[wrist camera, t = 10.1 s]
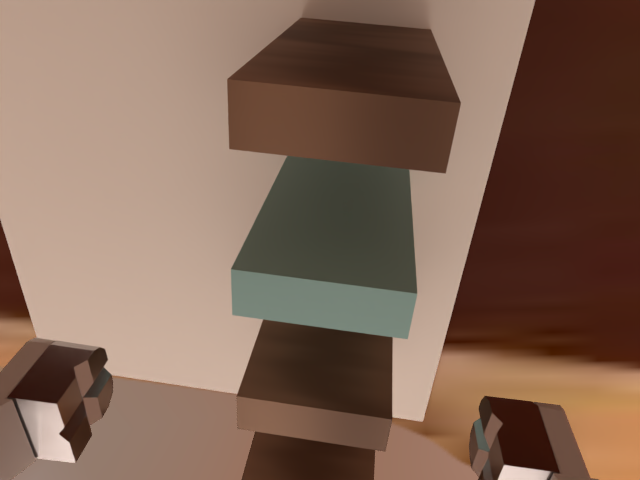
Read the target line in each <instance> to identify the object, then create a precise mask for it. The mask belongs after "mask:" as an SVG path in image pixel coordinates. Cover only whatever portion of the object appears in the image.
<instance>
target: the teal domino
mask: <svg viewBox="0 0 640 480" xmlns="http://www.w3.org/2000/svg"><path fill="white" fill-rule="evenodd" d="M231 291H232V315H235V316H242V317H249V318H257V319H264V320H271V321H278V322H286V323H293V324H300V325H307V326H315V327H322V328H329V329H336V330H344V331H351V332H358V333H365V334H373V335H380V336H387V337H394V338H402V339H408V336H409V331H410V326H411V322H412V317H413V312H414V308H415V303H416V298H417V279H416V264H415V248H414V233H413V218H412V203H411V187H410V172H409V169H400V168H392V167H383V166H374V165H365V164H356V163H347V162H338V161H330V160H321V159H312V158H303V157H294V156H287V157H286V159H285V161H284V163H283V165H282V167H281V169H280V171H279V173H278V175H277V177H276V179H275V181H274V183H273V185H272V187H271V189H270V191H269V193H268V195H267V197H266V199H265V201H264V203H263V205H262V207H261V209H260V211H259V213H258V215H257V217H256V220H255V222H254V224H253V226H252V228H251V230H250V232H249V234H248V236H247V238H246V240H245V242H244V244H243V246H242V248H241V250H240V252H239V254H238V256H237V258H236V260H235V262H234V264H233V266H232V268H231Z"/></svg>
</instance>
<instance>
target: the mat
mask: <svg viewBox="0 0 640 480" xmlns="http://www.w3.org/2000/svg"><path fill="white" fill-rule="evenodd" d="M534 3H535V0H0V219H1V223H2V226H3V229H4V232H5V236H6V239H7V242H8V245H9V249H10V252H11V255H12V258H13V262H14V265H15V268H16V271H17V275H18V278H19V281H20V284H21V287H22V291H23V294H24V297H25V300H26V304H27V307H28V310H29V313H30V317H31V320H32V323H33V326H34V330H35V333H36V336H37V338H42V339H49V340H55V341H64V342H70V343H77V344H83V345H89V346H96V347H101V348H104V349H105V351H106V354H107V358H108V361H107V362H106V364H105V366H104V368H105V369H106V370H107V371H108V372H109V373H110V374H111V375H115V376H122V377H128V378H135V379H142V380H148V381H155V382H162V383H168V384H175V385H182V386H188V387H195V388H202V389H208V390H215V391H222V392H228V393H235V394H238V391H239V388H240V385H241V382H242V379H243V376H244V373H245V370H246V368H247V365H248V362H249V359H250V356H251V353H252V350H253V347H254V344H255V341H256V339H257V336H258V333H259V330H260V327H261V324H262V321H263V319H257V318H249V317H242V316H235V315H232V291H231V268H232V266H233V264H234V262H235V260H236V258H237V256H238V254H239V252H240V250H241V248H242V246H243V244H244V242H245V240H246V238H247V236H248V234H249V232H250V230H251V228H252V226H253V224H254V222H255V220H256V217H257V215H258V213H259V211H260V209H261V207H262V205H263V203H264V201H265V199H266V197H267V195H268V193H269V191H270V189H271V187H272V185H273V183H274V181H275V179H276V177H277V175H278V173H279V171H280V169H281V167H282V165H283V163H284V161H285V159H286V157H287V156H285V155H276V154H268V153H259V152H250V151H241V150H232V149H229V126H228V92H227V79H228V78H229V77H230V76H231V75H233V74H234V73H235V72H236V71H237V70H239V69H240V68H241V67H242V66H243V65H245V64H246V63H247V62H248V61H249V60H251V59H252V58H253V57H254V56H255V55H257V54H258V53H259V52H260V51H261V50H263V49H264V48H265V47H266V46H267V45H269V44H270V43H271V42H272V41H273V40H275V39H276V38H277V37H278V36H279V35H281V34H282V33H283V32H284V31H285V30H287V29H288V28H289V27H290V26H291V25H293V24H294V23H295V22H296V21H297V20H299V19H300V18H312V19H322V20H333V21H344V22H355V23H366V24H377V25H388V26H398V27H409V28H420V29H431V31H432V33H433V36H434V38H435V40H436V43H437V45H438V48H439V50H440V53H441V55H442V58H443V60H444V63H445V65H446V67H447V70H448V72H449V75H450V77H451V80H452V82H453V85H454V87H455V89H456V92H457V94H458V97H459V99H460V102H461V106H460V110H459V115H458V120H457V124H456V129H455V133H454V138H453V143H452V147H451V152H450V156H449V161H448V166H447V170H446V174H445V173H436V172H427V171H418V170H409V172H410V187H411V203H412V218H413V233H414V248H415V264H416V279H417V298H416V303H415V308H414V312H413V317H412V322H411V326H410V331H409V336H408V339H402V338H394V337H393V362H392V417H395V418H402V419H409V420H415V421H422V422H423V419H424V415H425V411H426V408H427V404H428V400H429V396H430V393H431V389H432V385H433V381H434V378H435V374H436V370H437V366H438V363H439V359H440V355H441V351H442V348H443V344H444V340H445V336H446V333H447V329H448V325H449V321H450V318H451V314H452V310H453V306H454V303H455V299H456V295H457V291H458V288H459V284H460V280H461V276H462V273H463V269H464V265H465V261H466V258H467V254H468V250H469V247H470V243H471V239H472V235H473V232H474V228H475V224H476V220H477V217H478V213H479V209H480V205H481V202H482V198H483V194H484V190H485V187H486V183H487V179H488V175H489V172H490V168H491V164H492V160H493V157H494V153H495V149H496V145H497V142H498V138H499V134H500V130H501V127H502V123H503V119H504V115H505V112H506V108H507V104H508V100H509V97H510V93H511V89H512V85H513V82H514V78H515V74H516V70H517V67H518V63H519V59H520V55H521V52H522V48H523V44H524V40H525V37H526V33H527V29H528V25H529V22H530V18H531V14H532V10H533V7H534Z"/></svg>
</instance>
